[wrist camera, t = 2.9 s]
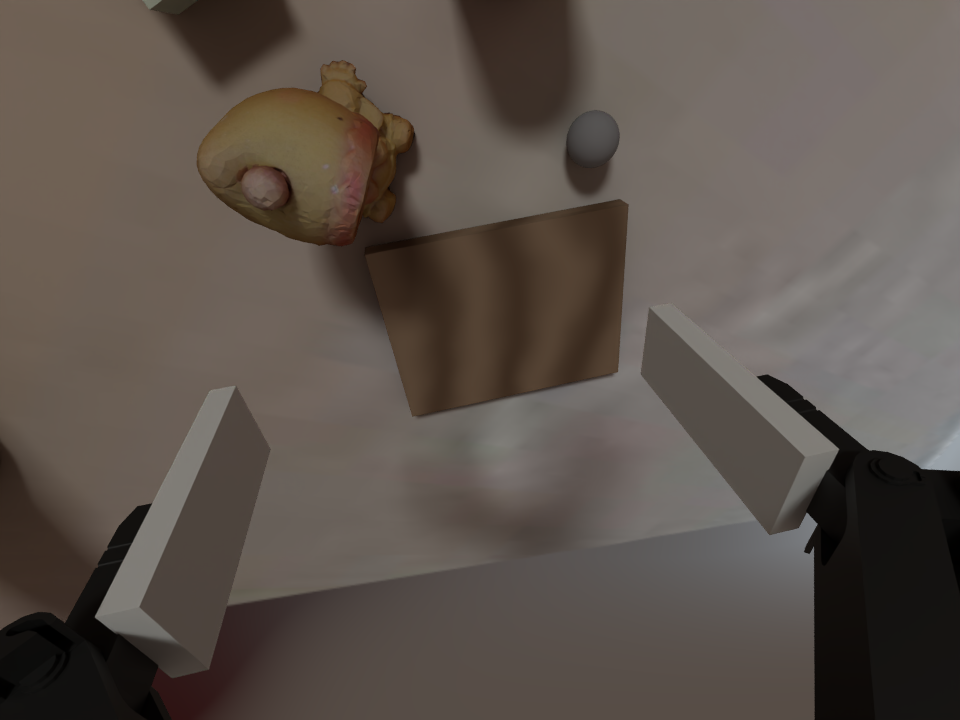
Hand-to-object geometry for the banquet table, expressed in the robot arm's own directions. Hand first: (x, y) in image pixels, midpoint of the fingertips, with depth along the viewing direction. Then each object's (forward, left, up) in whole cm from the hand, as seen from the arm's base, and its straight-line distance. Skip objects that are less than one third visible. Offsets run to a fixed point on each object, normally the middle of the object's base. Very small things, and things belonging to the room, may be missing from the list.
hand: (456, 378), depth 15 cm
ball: (+13, +2, -22) cm, 25 cm away
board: (+6, -11, -22) cm, 25 cm away
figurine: (-4, +4, -22) cm, 23 cm away
